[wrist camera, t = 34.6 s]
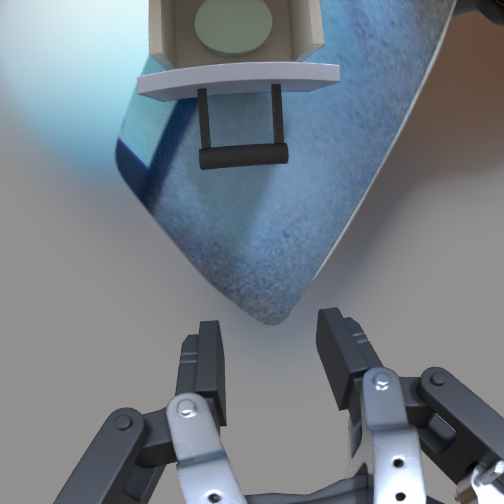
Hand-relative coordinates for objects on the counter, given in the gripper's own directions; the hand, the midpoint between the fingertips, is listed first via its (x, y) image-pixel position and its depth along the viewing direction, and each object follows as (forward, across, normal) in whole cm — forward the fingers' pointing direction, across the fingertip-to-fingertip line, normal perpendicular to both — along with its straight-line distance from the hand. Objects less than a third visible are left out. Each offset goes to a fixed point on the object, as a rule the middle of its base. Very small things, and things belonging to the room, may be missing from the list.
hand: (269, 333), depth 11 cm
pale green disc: (+15, 0, -17) cm, 23 cm away
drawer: (+16, 0, -15) cm, 22 cm away
